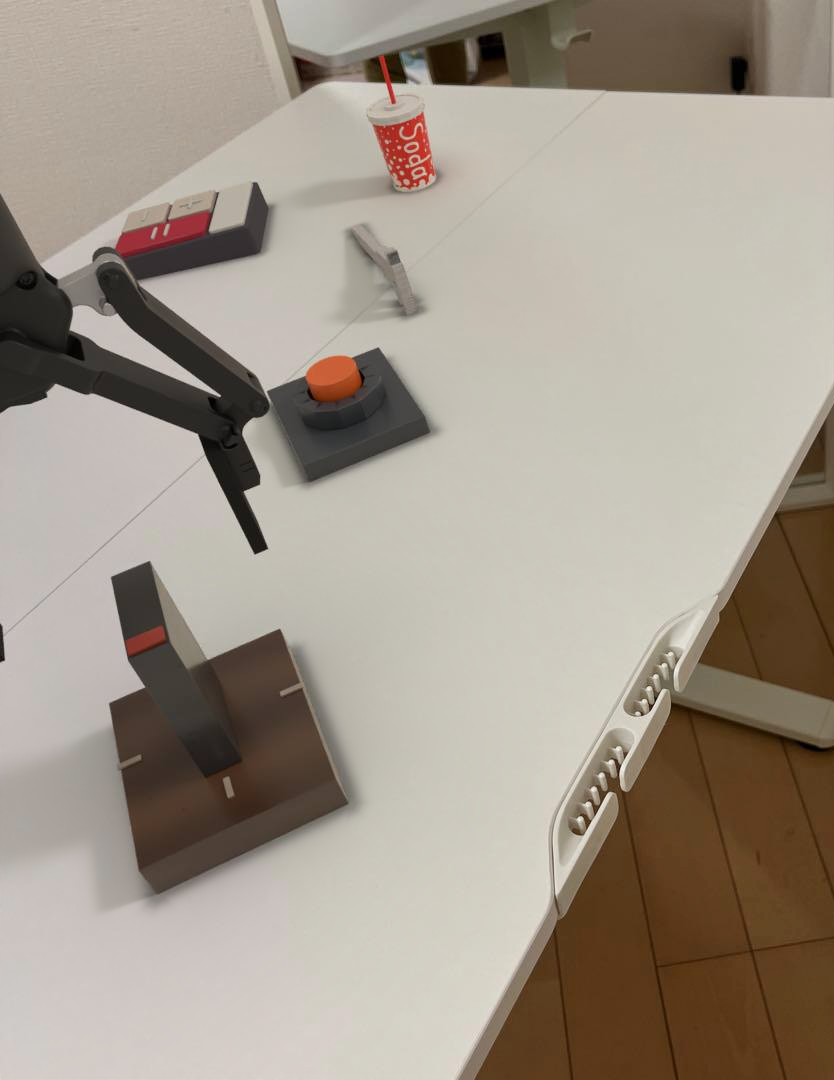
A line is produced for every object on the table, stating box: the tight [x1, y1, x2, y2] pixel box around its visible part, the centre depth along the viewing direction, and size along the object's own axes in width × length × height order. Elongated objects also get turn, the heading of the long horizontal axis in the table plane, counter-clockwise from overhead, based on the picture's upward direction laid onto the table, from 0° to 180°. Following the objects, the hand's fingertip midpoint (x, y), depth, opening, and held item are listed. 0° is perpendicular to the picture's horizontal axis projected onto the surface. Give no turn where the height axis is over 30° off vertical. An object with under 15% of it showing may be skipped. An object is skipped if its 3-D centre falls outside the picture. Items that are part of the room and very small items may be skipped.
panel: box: [108, 628, 350, 895], centre depth 64 cm, size 13×11×3 cm
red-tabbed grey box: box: [110, 560, 242, 777], centre depth 60 cm, size 7×2×10 cm, turn 24°
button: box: [305, 355, 362, 403], centre depth 86 cm, size 4×4×2 cm
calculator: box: [114, 181, 269, 281], centre depth 117 cm, size 11×4×15 cm
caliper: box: [351, 224, 418, 316], centre depth 104 cm, size 20×1×6 cm, turn 22°
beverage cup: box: [365, 54, 437, 193], centre depth 115 cm, size 6×6×14 cm
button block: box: [266, 347, 431, 483], centre depth 88 cm, size 12×10×4 cm
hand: (129, 591), depth 56 cm, fingers open, 13 cm apart
